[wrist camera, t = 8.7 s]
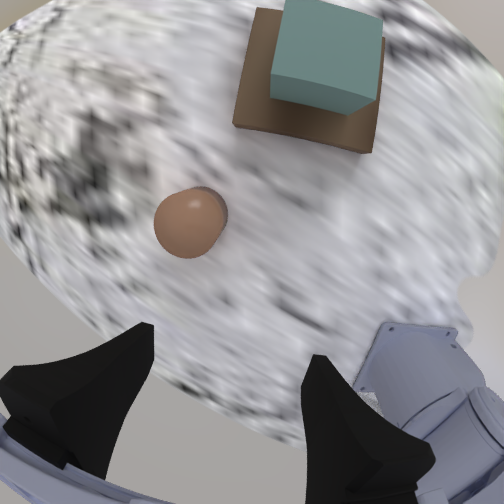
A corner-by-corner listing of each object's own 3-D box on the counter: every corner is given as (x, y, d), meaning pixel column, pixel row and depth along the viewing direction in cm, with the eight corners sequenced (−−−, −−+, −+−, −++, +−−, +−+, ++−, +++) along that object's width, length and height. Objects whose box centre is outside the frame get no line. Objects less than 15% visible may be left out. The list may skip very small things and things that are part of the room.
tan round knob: (232, 191, 20) (223, 197, 16) (223, 245, 21) (213, 264, 17) (177, 182, 20) (157, 187, 16) (171, 235, 21) (151, 251, 17)
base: (375, 47, 15) (385, 37, 14) (362, 153, 18) (371, 153, 16) (257, 19, 15) (256, 7, 14) (235, 127, 18) (232, 123, 16)
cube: (356, 50, 14) (382, 20, 9) (347, 115, 16) (375, 100, 11) (282, 32, 14) (286, -6, 9) (270, 97, 16) (270, 73, 11)
